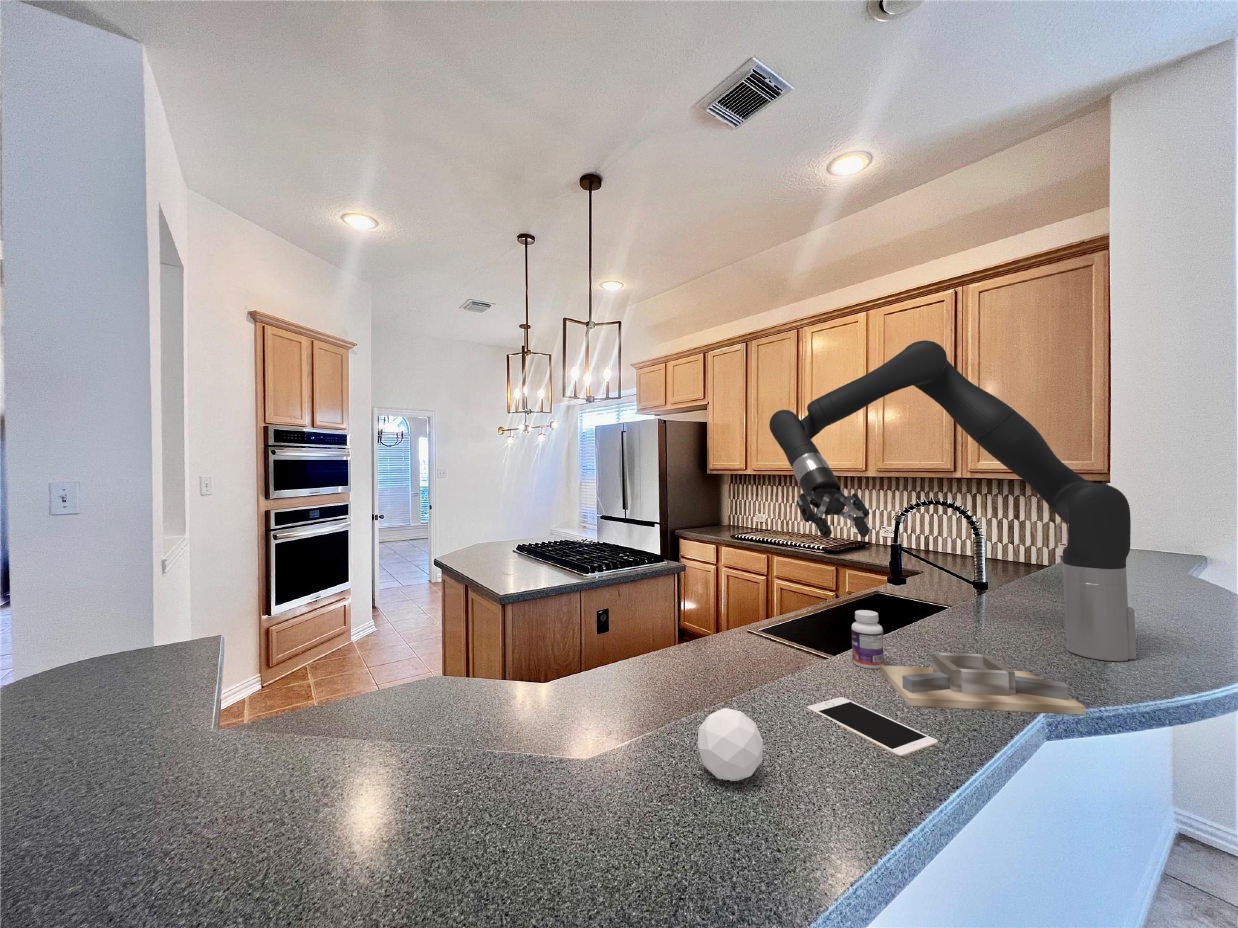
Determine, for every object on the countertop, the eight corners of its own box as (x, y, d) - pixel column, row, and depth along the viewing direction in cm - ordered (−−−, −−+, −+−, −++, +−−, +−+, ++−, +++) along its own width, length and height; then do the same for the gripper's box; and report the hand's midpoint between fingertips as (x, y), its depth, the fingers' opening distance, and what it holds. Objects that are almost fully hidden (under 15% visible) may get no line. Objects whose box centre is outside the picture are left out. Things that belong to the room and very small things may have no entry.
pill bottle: (852, 657, 103) (850, 607, 103) (882, 661, 100) (881, 610, 101) (852, 667, 98) (851, 614, 98) (885, 670, 96) (883, 617, 96)
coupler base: (1028, 678, 91) (1027, 651, 91) (1085, 714, 77) (1084, 682, 77) (880, 672, 95) (879, 646, 95) (909, 705, 81) (908, 674, 81)
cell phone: (841, 700, 85) (841, 696, 85) (939, 745, 70) (939, 740, 70) (805, 710, 81) (805, 706, 81) (900, 759, 67) (900, 755, 67)
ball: (733, 788, 65) (754, 723, 69) (761, 800, 58) (783, 728, 61) (679, 758, 65) (702, 695, 69) (700, 767, 58) (725, 696, 62)
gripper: (792, 465, 113) (824, 524, 102) (851, 466, 116) (887, 523, 105) (780, 488, 118) (808, 547, 107) (836, 488, 121) (869, 545, 110)
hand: (847, 535), depth 106 cm, fingers open, 8 cm apart
